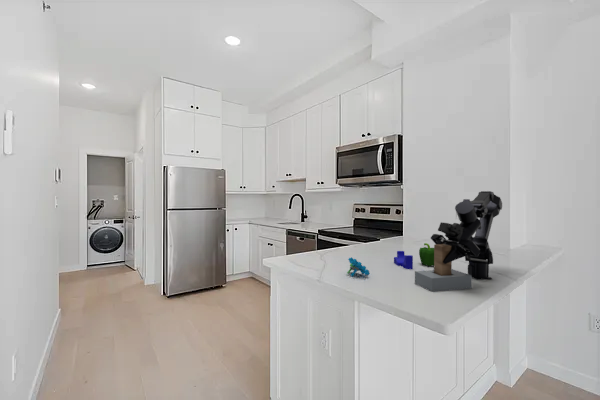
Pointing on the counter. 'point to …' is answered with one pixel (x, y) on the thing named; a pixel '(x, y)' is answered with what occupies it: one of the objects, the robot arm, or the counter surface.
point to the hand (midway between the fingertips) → (439, 261)
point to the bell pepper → (427, 255)
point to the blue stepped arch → (404, 260)
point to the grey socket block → (443, 280)
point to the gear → (357, 267)
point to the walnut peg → (441, 260)
